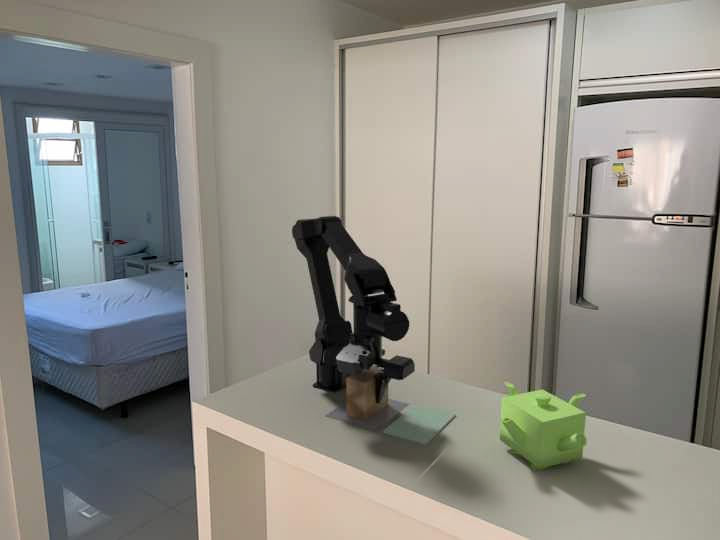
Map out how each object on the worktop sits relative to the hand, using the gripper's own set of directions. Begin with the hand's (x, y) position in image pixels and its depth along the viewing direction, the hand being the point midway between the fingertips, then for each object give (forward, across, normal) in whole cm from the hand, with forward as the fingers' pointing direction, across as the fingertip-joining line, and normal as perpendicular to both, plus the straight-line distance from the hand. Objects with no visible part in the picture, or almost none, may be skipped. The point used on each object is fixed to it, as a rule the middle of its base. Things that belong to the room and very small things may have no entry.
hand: (367, 400), depth 116 cm
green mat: (+2, +12, 0) cm, 12 cm away
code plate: (+2, 0, 0) cm, 2 cm away
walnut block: (+2, 0, 0) cm, 2 cm away
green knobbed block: (+2, +35, +1) cm, 35 cm away
